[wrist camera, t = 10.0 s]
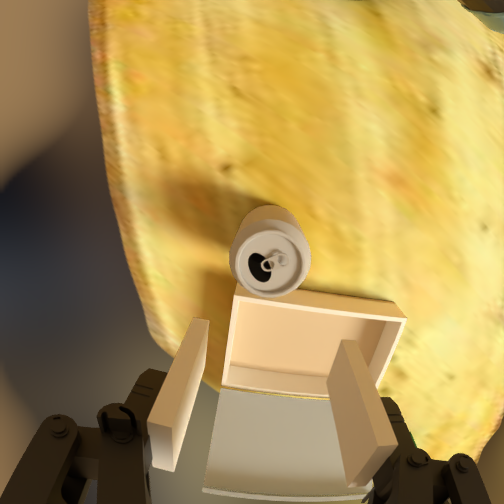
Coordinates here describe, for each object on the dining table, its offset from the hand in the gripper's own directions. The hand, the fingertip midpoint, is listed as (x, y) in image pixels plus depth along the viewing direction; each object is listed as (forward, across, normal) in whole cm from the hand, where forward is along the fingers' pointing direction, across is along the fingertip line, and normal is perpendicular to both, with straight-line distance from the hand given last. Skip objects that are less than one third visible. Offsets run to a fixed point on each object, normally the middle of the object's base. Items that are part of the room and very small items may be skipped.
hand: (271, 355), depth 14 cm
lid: (+12, +8, -22) cm, 27 cm away
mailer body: (+25, +8, -14) cm, 29 cm away
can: (+25, 0, 0) cm, 25 cm away
